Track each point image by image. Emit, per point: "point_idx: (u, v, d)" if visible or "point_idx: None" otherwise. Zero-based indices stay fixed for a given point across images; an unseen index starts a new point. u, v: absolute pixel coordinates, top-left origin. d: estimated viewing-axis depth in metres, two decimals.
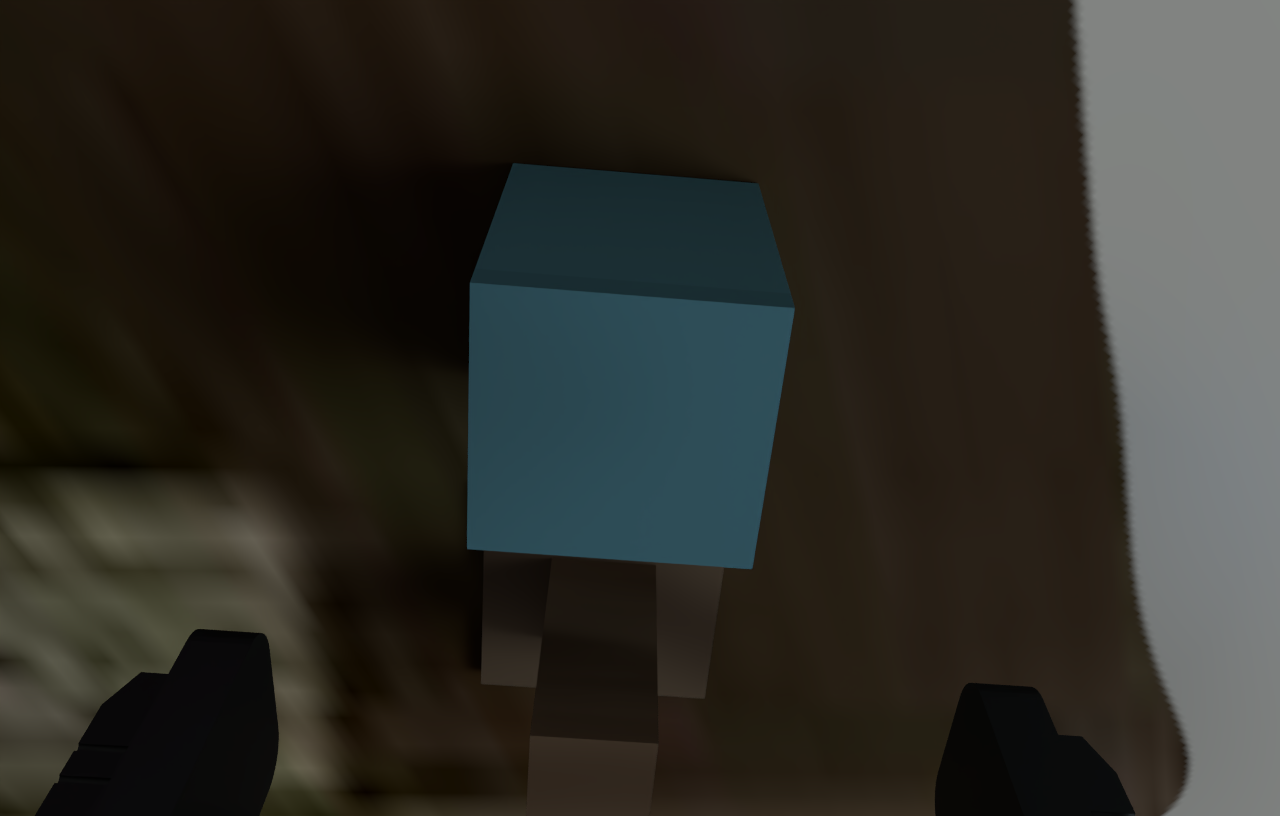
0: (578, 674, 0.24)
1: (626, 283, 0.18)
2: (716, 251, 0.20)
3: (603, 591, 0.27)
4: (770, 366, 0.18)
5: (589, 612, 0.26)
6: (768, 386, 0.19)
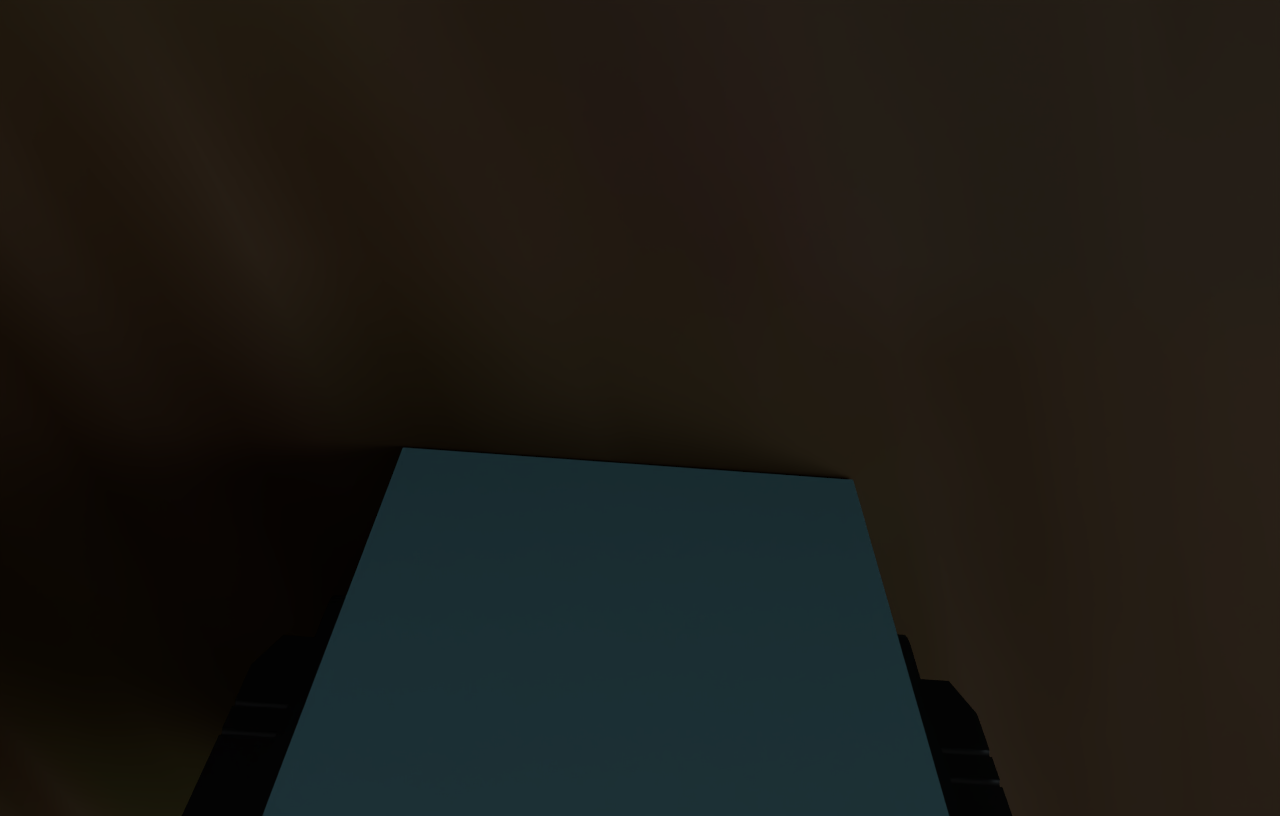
0: None
1: None
2: (797, 756, 0.09)
3: None
4: None
5: None
6: None
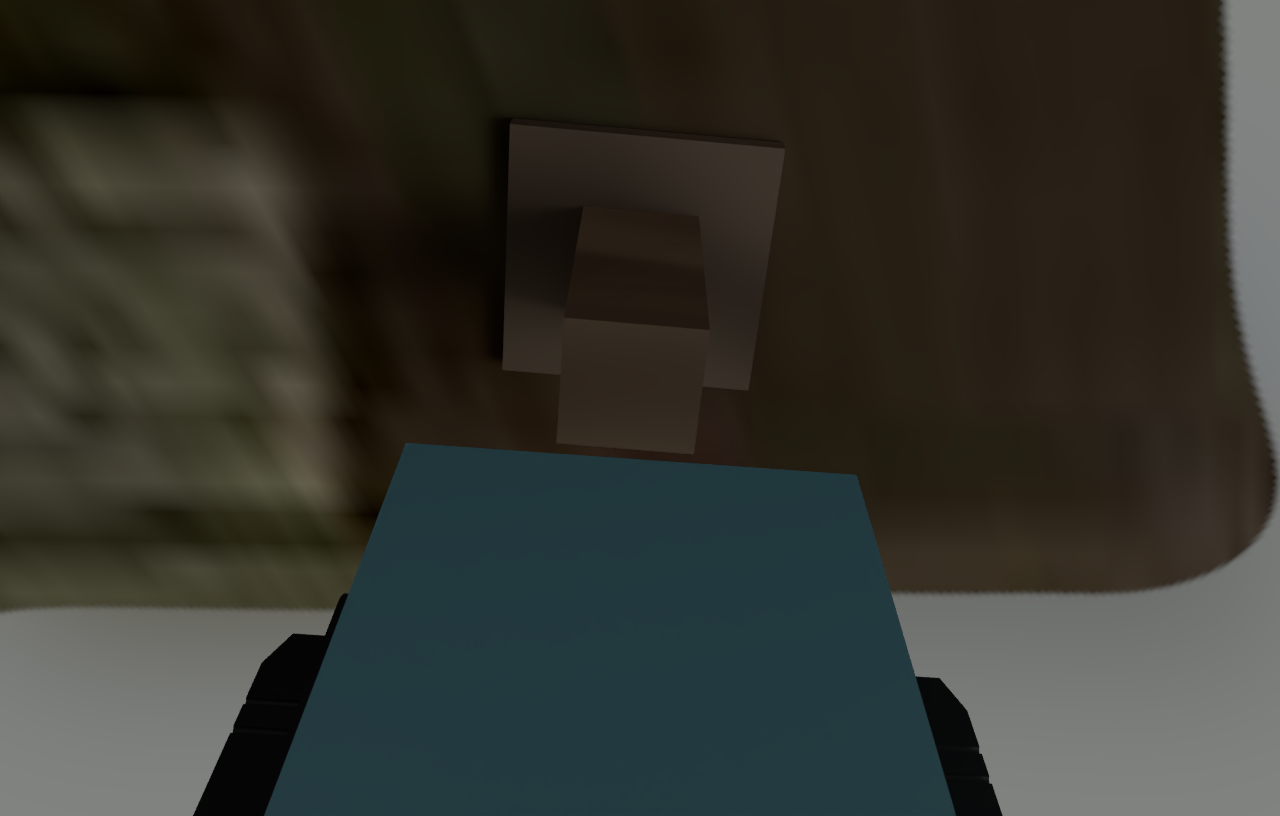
0: (616, 281, 0.21)
1: None
2: (801, 748, 0.09)
3: (642, 229, 0.24)
4: None
5: (626, 242, 0.23)
6: None
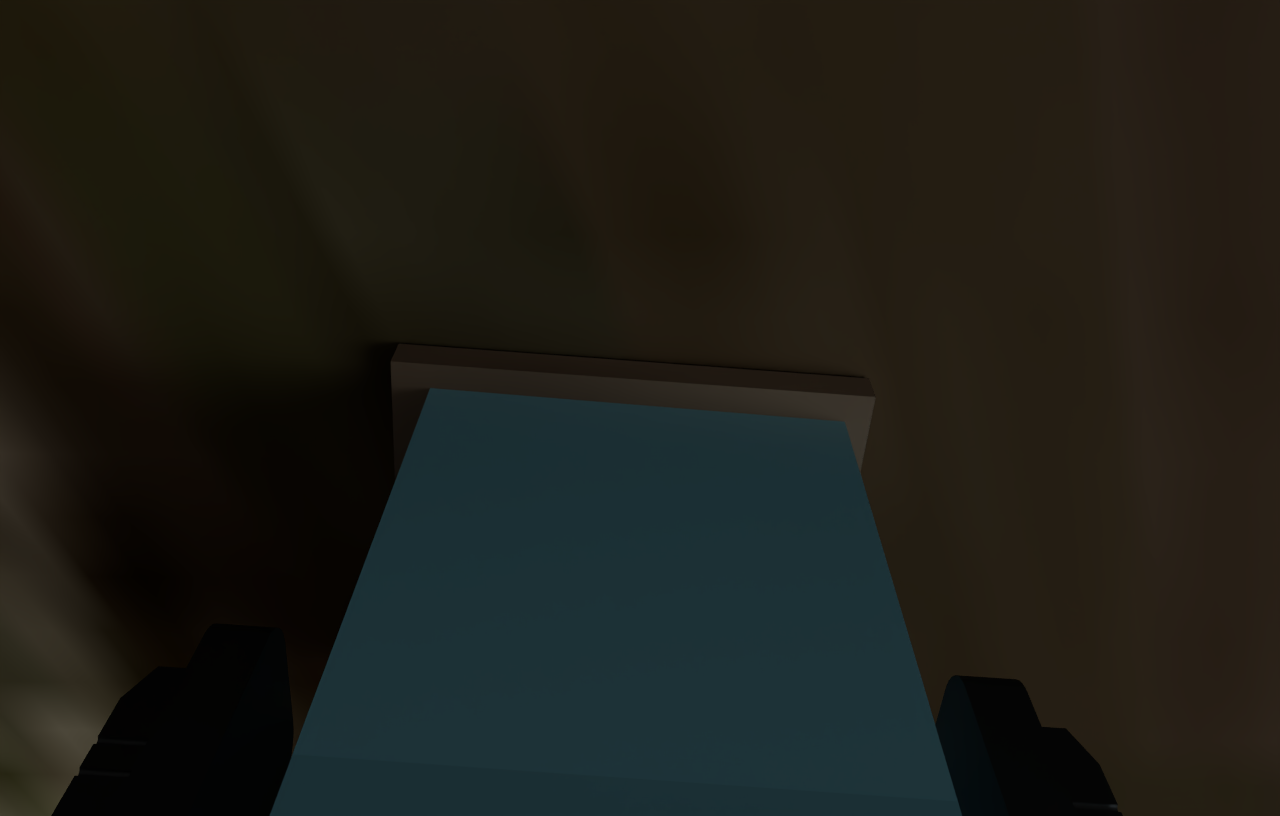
0: None
1: (613, 782, 0.09)
2: (792, 644, 0.10)
3: None
4: None
5: None
6: None
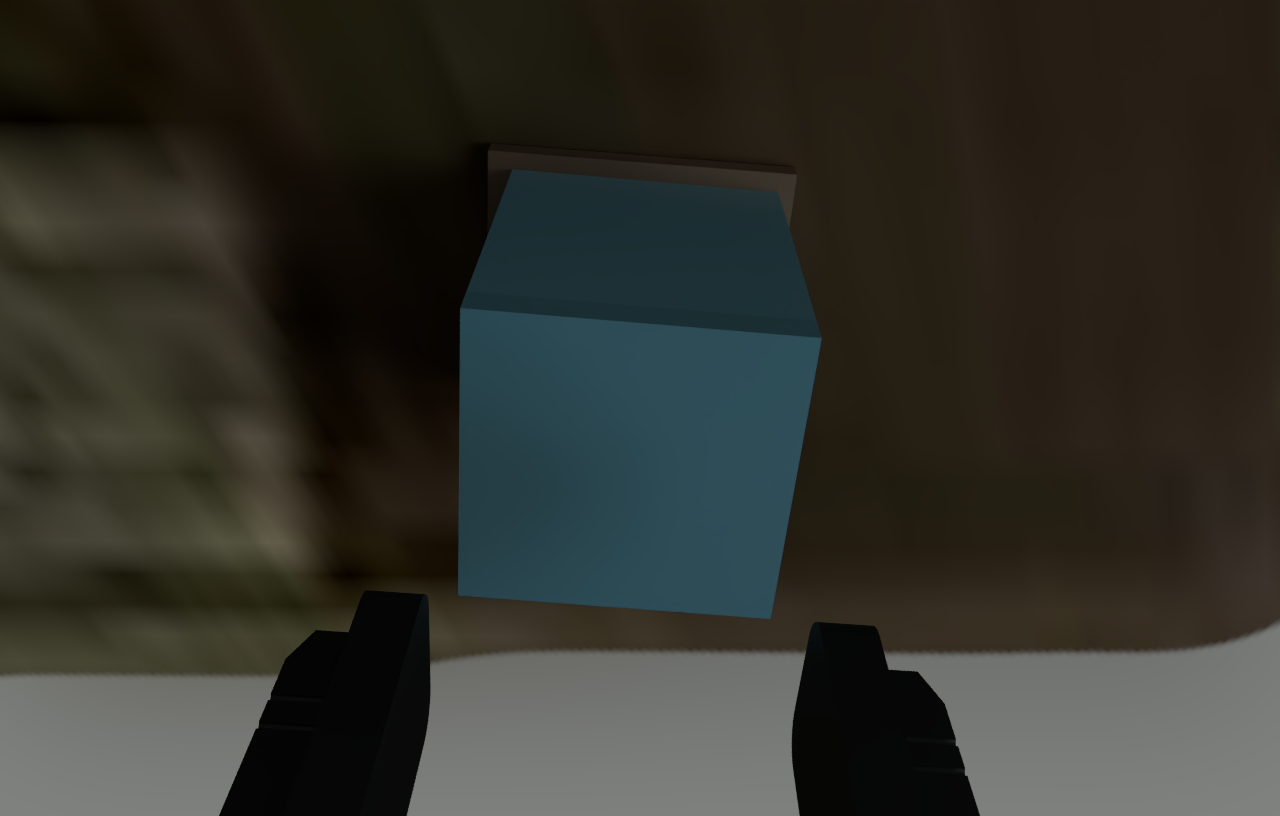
0: None
1: (634, 309, 0.17)
2: (733, 270, 0.18)
3: None
4: (793, 401, 0.17)
5: None
6: (791, 423, 0.17)
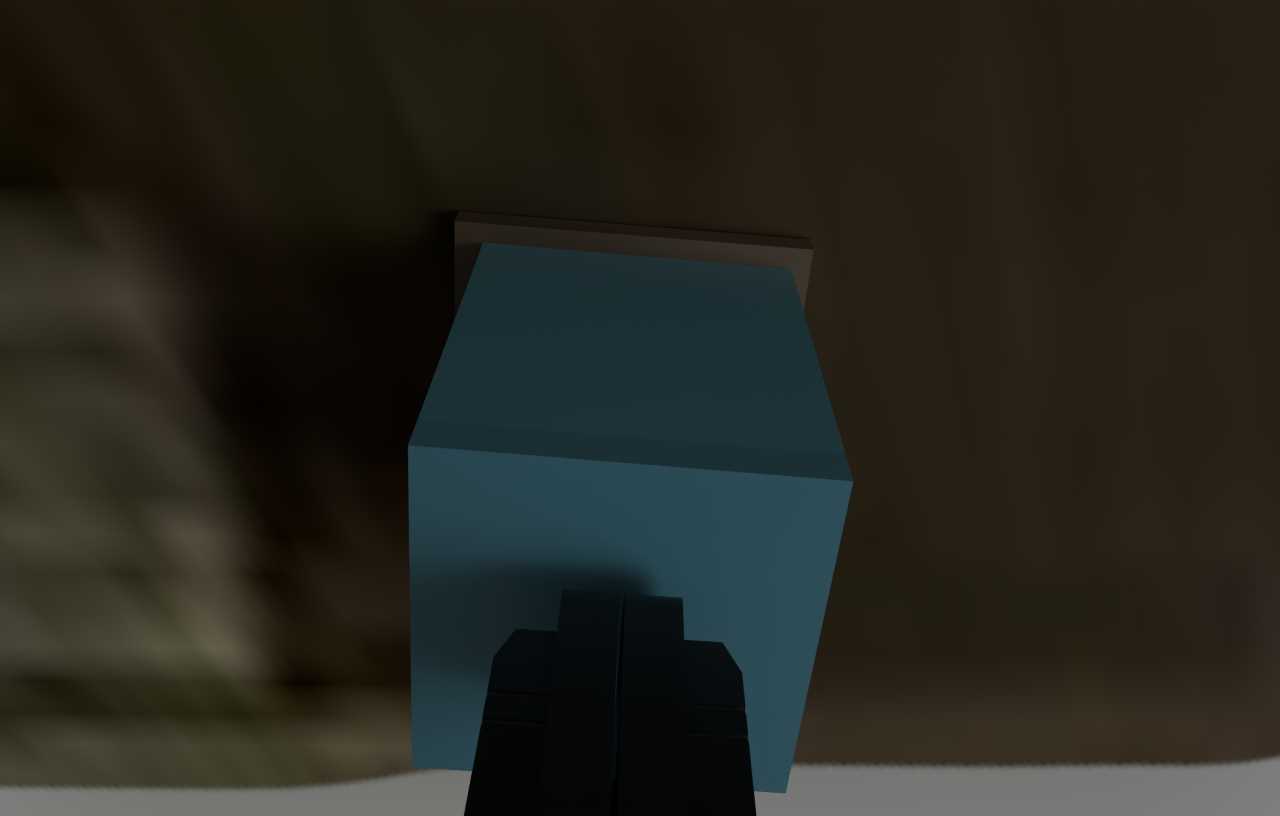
0: None
1: (623, 440, 0.14)
2: (743, 382, 0.15)
3: None
4: (817, 553, 0.14)
5: None
6: (813, 577, 0.14)
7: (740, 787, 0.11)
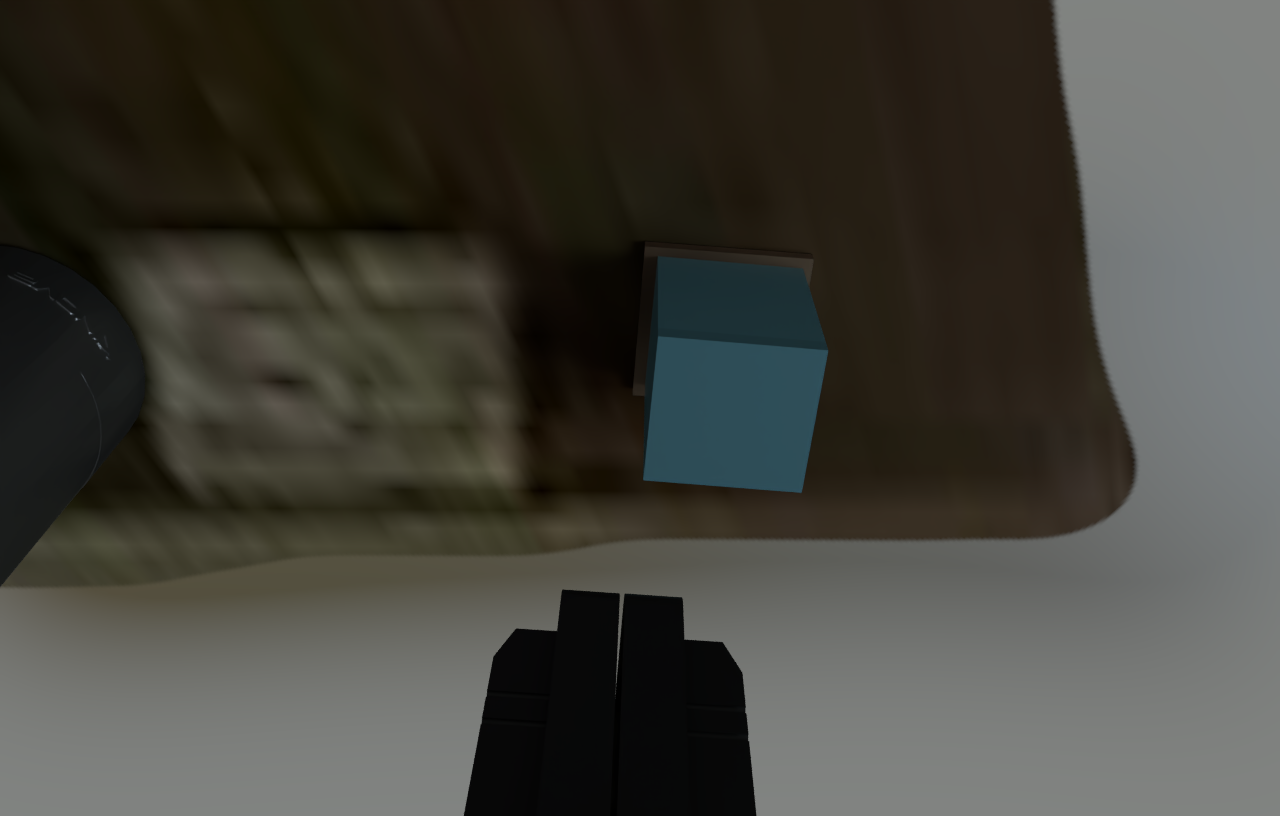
0: None
1: (738, 336, 0.34)
2: (783, 315, 0.36)
3: None
4: (814, 380, 0.34)
5: None
6: (813, 391, 0.35)
7: (740, 787, 0.11)
